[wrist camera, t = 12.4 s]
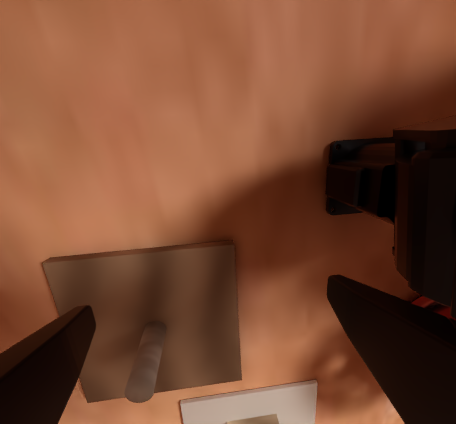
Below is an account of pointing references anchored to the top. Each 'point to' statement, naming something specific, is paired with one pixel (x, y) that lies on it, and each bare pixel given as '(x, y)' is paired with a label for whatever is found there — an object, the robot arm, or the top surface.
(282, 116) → the top surface
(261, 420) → the collar
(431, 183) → the robot arm
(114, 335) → the post stand
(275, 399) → the mat
